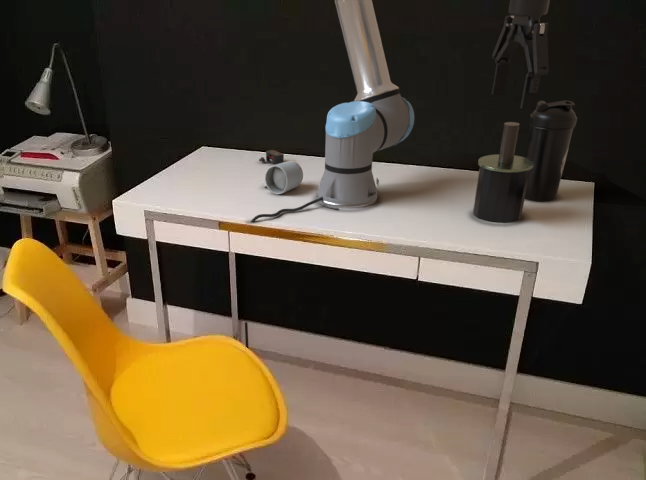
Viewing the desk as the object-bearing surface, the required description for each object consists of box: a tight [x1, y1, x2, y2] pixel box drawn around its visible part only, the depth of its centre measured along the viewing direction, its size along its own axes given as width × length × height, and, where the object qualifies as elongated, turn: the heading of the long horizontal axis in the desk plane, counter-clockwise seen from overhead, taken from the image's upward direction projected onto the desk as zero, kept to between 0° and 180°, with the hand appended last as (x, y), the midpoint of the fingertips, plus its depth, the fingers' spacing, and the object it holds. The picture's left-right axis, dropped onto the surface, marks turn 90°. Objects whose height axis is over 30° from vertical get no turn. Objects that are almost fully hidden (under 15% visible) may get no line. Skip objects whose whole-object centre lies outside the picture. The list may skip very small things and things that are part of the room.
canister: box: [472, 166, 530, 224], centre depth 162 cm, size 11×11×13 cm
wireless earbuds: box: [258, 149, 285, 165], centre depth 208 cm, size 5×7×3 cm, turn 28°
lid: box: [477, 121, 534, 172], centre depth 157 cm, size 12×12×10 cm
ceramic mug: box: [261, 160, 304, 195], centre depth 187 cm, size 11×8×8 cm
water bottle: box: [524, 100, 578, 203], centre depth 170 cm, size 10×10×23 cm
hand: (512, 101), depth 152 cm, fingers open, 13 cm apart
